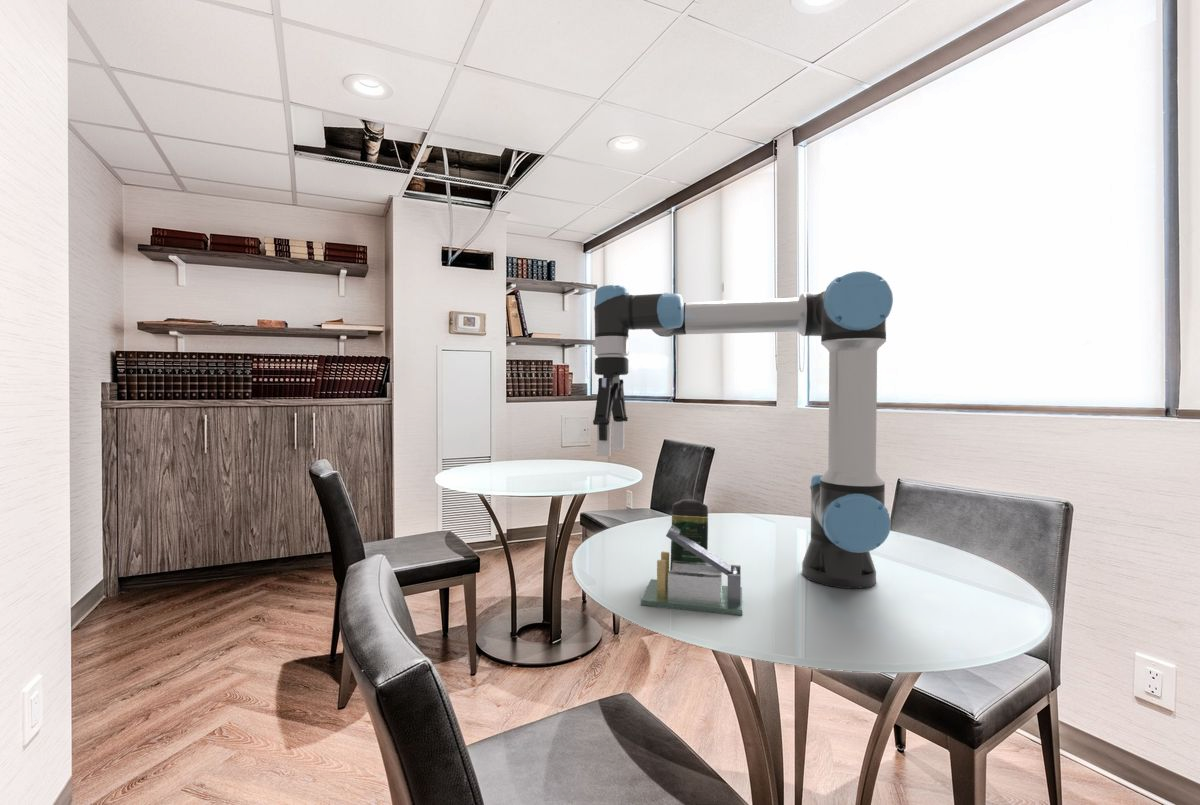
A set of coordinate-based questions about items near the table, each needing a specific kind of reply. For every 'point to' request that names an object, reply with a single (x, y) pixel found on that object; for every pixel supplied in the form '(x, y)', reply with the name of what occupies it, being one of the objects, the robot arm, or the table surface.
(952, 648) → the table surface
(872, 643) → the table surface
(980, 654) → the table surface
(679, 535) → the grey rectangular bar
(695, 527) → the coffee jar
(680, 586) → the heatsink base
